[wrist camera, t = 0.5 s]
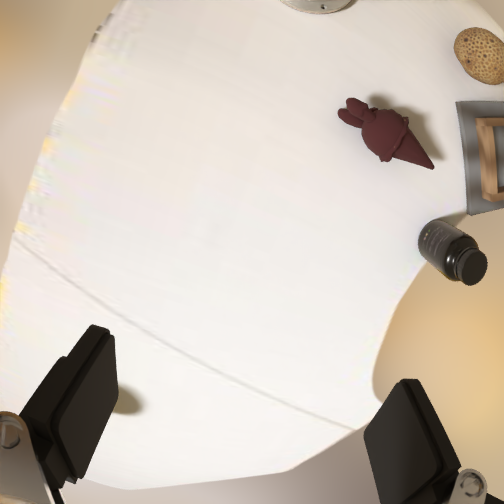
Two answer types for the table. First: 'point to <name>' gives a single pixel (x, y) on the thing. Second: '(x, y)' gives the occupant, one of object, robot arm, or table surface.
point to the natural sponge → (481, 55)
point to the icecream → (385, 133)
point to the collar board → (483, 154)
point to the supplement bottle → (452, 252)
